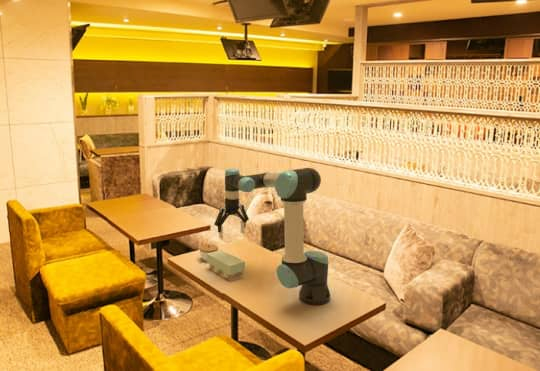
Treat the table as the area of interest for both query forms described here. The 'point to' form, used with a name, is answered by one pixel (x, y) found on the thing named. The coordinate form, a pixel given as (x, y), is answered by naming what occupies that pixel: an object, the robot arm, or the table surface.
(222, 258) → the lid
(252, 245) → the table surface
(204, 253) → the lidded jar
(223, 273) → the napkin box
